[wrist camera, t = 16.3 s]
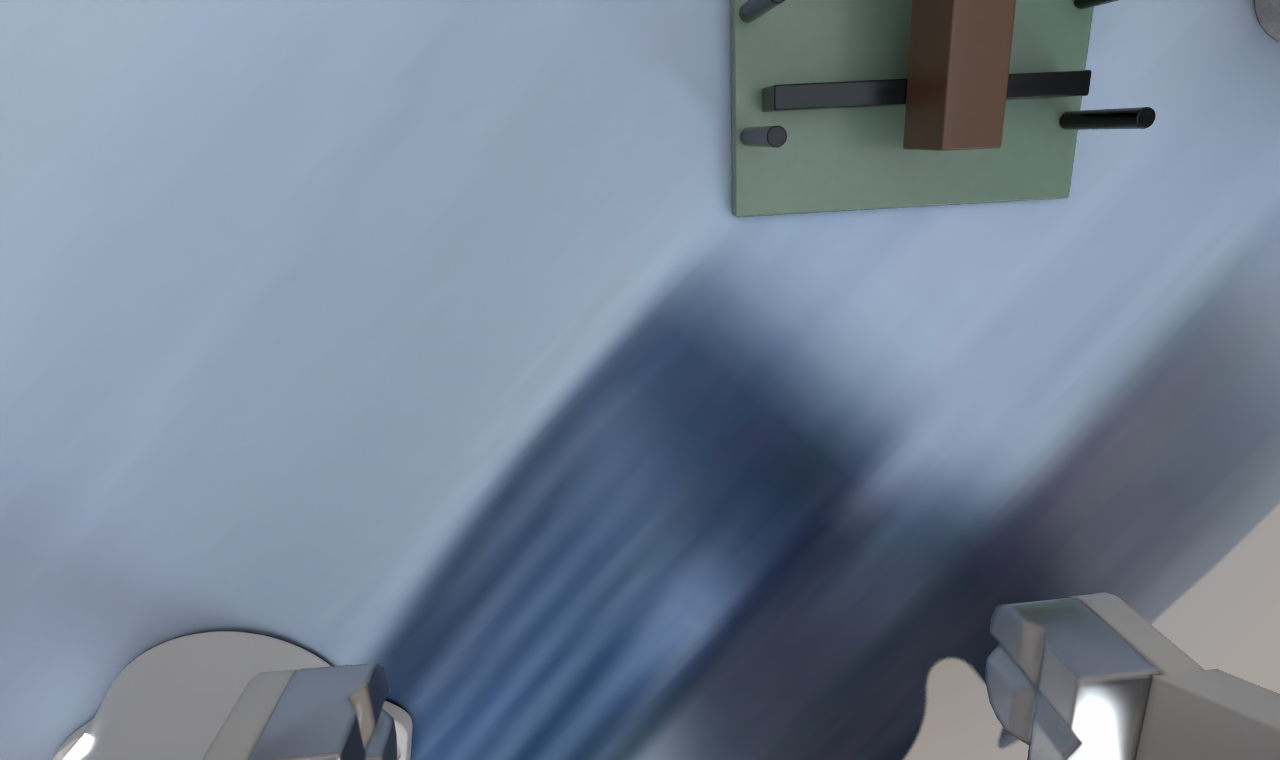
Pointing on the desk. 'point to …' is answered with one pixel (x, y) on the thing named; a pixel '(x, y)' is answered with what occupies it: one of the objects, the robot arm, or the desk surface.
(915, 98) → the knife
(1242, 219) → the desk surface
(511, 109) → the desk surface
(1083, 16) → the rack
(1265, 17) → the house plant
